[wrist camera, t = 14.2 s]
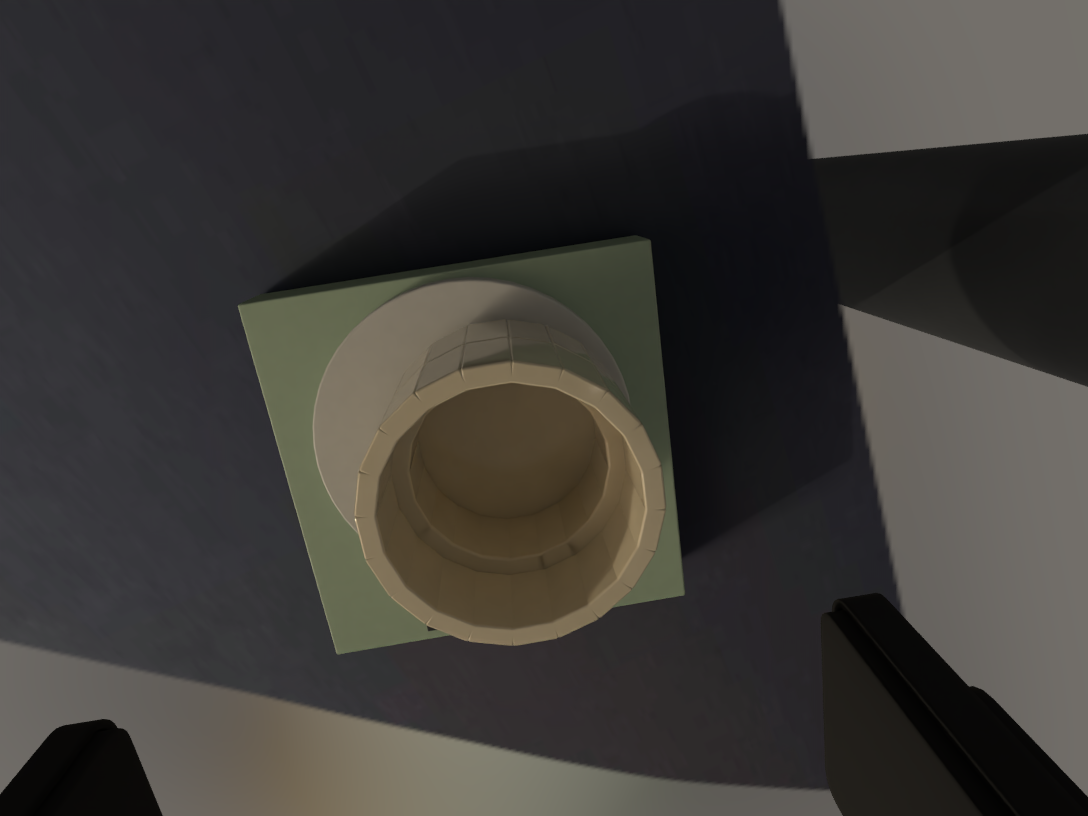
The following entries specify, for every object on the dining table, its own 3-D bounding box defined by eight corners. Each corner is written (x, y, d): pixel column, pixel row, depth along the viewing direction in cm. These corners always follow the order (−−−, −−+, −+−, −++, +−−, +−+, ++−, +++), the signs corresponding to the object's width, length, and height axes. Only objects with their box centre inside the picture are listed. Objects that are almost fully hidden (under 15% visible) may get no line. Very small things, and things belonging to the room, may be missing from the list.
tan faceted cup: (607, 298, 20) (649, 337, 15) (634, 516, 22) (678, 618, 17) (365, 337, 20) (320, 391, 15) (415, 553, 22) (392, 667, 17)
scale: (636, 234, 22) (655, 240, 20) (671, 565, 26) (690, 605, 23) (258, 294, 22) (229, 307, 19) (348, 620, 25) (332, 666, 23)
